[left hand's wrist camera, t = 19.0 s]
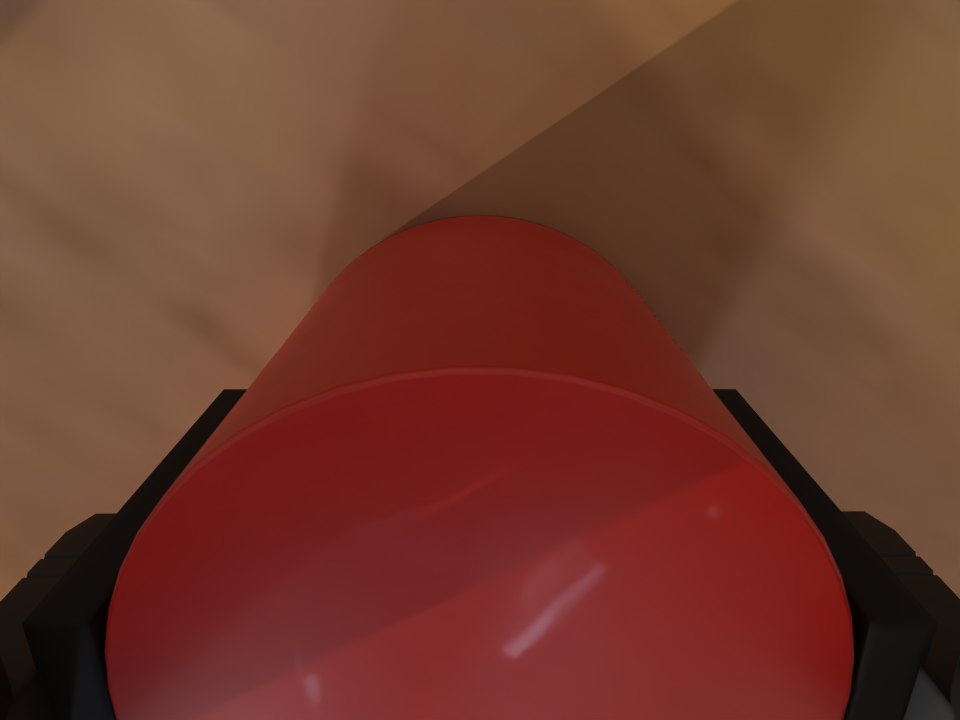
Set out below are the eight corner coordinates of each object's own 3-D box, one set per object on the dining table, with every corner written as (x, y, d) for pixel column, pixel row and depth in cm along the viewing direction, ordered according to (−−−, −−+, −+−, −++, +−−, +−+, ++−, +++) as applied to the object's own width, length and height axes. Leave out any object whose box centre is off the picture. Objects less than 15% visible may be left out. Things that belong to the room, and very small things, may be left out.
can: (739, 323, 16) (1025, 578, 7) (551, 598, 18) (608, 999, 10) (385, 140, 14) (252, 205, 6) (243, 471, 17) (23, 821, 9)
